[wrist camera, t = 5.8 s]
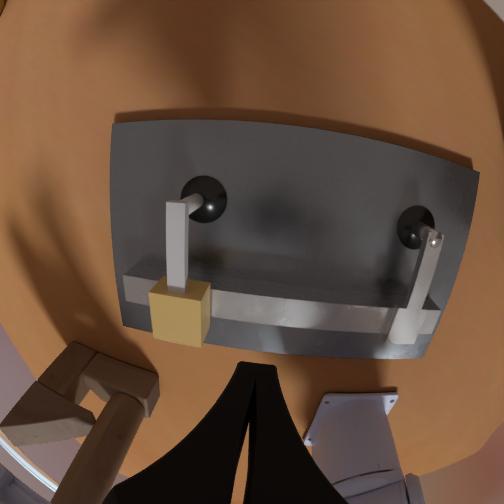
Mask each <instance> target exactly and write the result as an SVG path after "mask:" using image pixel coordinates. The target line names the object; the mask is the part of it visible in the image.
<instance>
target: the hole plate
mask: <svg viewBox="0 0 504 504" xmlns="http://www.w3.org/2000/svg"><path fill="white" fill-rule="evenodd" d="M479 174H480V172H478V171H475V170H473V169H470V168H467V167H465V166H462V165H459V164H457V163H454V162H451V161H448V160H445V159H442V158H439V157H436V156H433V155H430V154H426V153H423V152H420V151H416V150H413V149H409V148H406V147H402V146H398V145H394V144H390V143H386V142H382V141H378V140H374V139H369V138H365V137H360V136H355V135H350V134H345V133H339V132H333V131H328V130H321V129H315V128H308V127H301V126H293V125H284V124H274V123H264V122H251V121H234V120H202V119H185V120H152V121H136V122H124V123H114V124H112V134H111V153H110V213H111V233H112V246H113V257H114V267H115V276H116V284H117V291H118V298H119V305H120V311H121V317H122V322H123V326H126V327H130V328H135V329H139V330H143V331H147V332H152V333H153V329H152V321H151V312H150V302H149V291H150V290H151V289H152V288H153V287H154V286H155V284H156V283H157V282H158V281H159V280H160V279H161V278H162V277H163V276H167V262H166V202H167V201H170V200H177V201H180V200H182V199H184V198H186V197H188V196H190V195H192V194H194V193H198V194H200V195H202V197H203V199H204V202H203V205H202V206H201V207H199V208H198V209H196V210H195V211H193V212H192V213H191V214H189V224H188V279H189V280H195V281H202V282H210V283H211V285H210V327H209V330H208V332H207V335H206V337H205V340H204V342H203V343H207V344H213V345H219V346H226V347H232V348H239V349H247V350H255V351H263V352H272V353H281V354H292V355H303V356H317V357H334V358H361V359H406V358H423V356H424V354H425V352H426V350H427V348H428V345H429V343H430V341H431V339H432V337H433V335H434V333H435V330H436V328H437V326H438V324H439V321H440V319H441V316H442V314H443V312H444V309H445V307H446V304H447V301H448V299H449V296H450V293H451V291H452V288H453V285H454V282H455V279H456V276H457V273H458V270H459V267H460V263H461V260H462V257H463V253H464V249H465V246H466V242H467V238H468V234H469V230H470V226H471V221H472V216H473V211H474V206H475V201H476V195H477V189H478V182H479Z"/></svg>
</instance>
